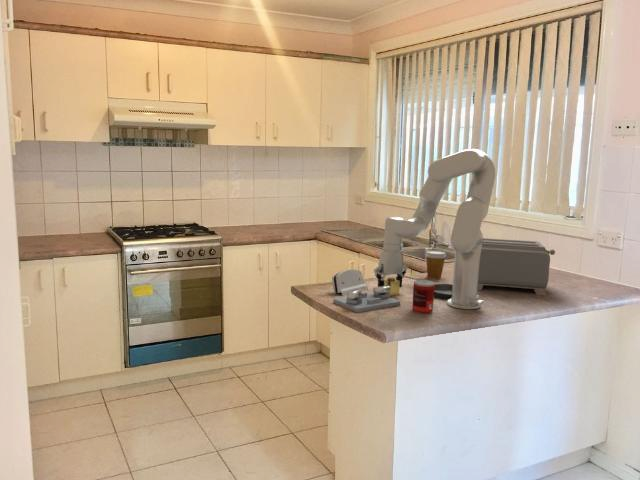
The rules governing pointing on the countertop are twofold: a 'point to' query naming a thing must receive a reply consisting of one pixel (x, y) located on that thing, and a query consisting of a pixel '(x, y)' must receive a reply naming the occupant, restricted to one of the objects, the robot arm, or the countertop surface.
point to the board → (367, 303)
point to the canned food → (423, 296)
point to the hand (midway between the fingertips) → (389, 287)
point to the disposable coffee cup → (435, 263)
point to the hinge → (348, 282)
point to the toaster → (514, 264)
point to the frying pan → (441, 290)
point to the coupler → (392, 286)
